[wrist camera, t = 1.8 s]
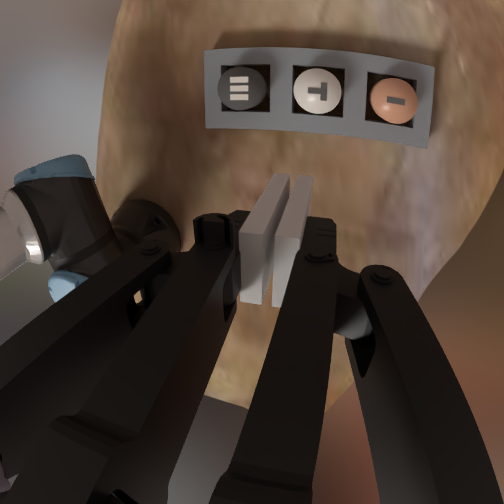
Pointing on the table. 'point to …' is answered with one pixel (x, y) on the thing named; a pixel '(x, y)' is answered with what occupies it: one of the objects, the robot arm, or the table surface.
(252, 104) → the button black
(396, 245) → the table surface
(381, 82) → the button terracotta
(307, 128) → the panel
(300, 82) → the button white
